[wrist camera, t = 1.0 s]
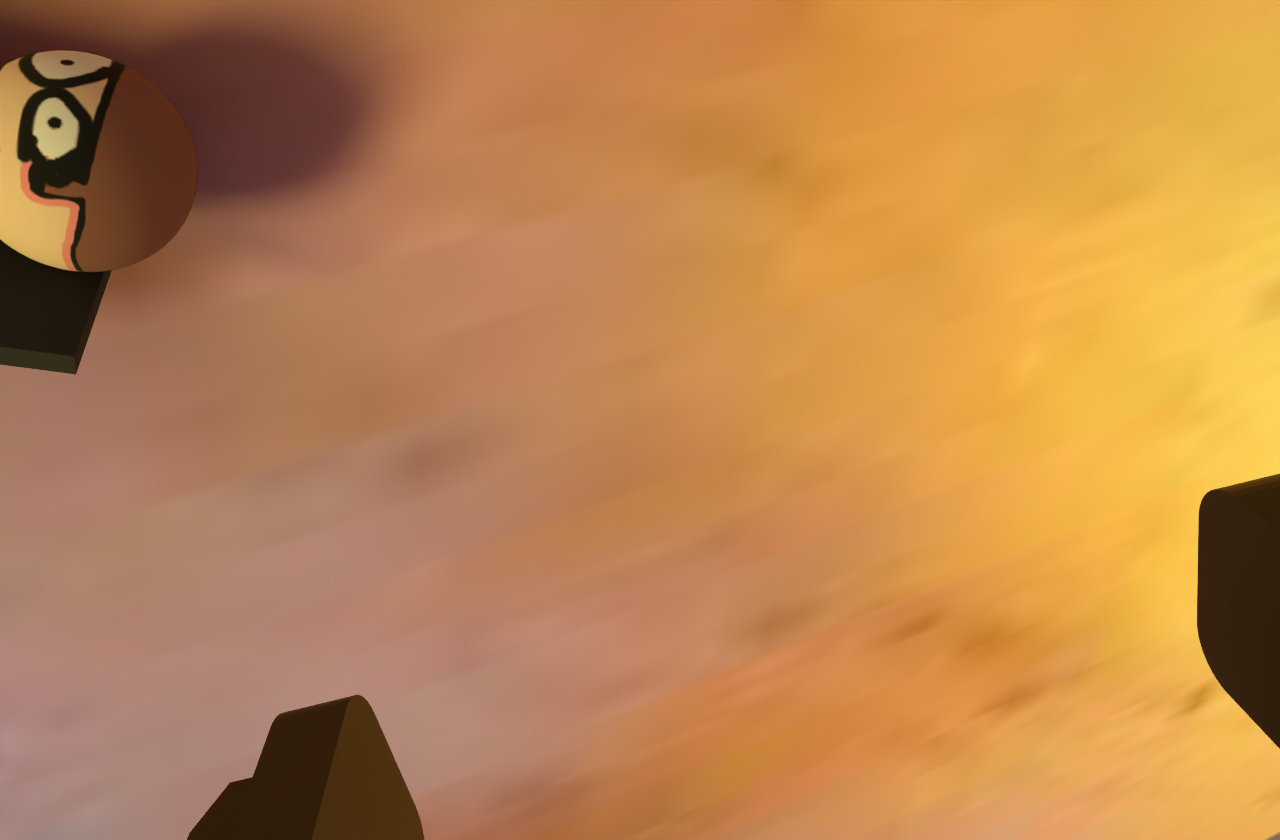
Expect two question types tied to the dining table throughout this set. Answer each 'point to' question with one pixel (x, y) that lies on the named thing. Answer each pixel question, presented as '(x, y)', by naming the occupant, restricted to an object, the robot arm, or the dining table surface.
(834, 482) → the dining table surface
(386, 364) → the dining table surface
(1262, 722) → the robot arm
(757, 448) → the dining table surface
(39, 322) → the character figurine
